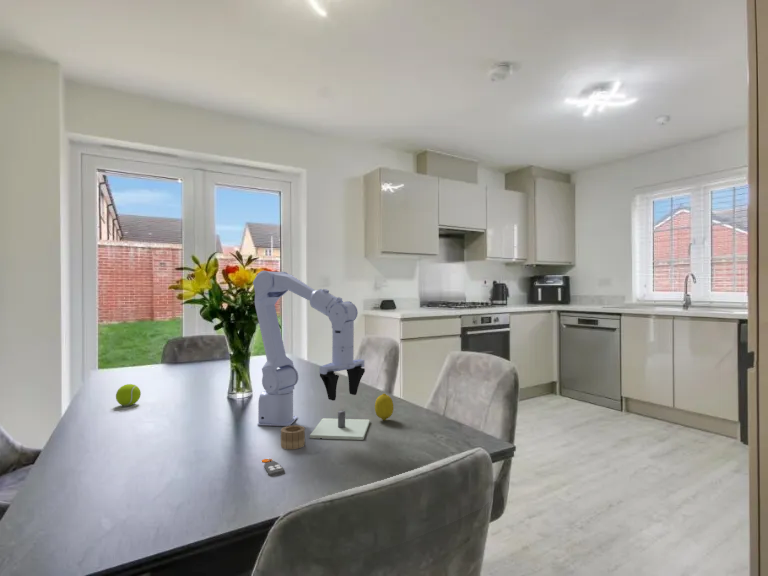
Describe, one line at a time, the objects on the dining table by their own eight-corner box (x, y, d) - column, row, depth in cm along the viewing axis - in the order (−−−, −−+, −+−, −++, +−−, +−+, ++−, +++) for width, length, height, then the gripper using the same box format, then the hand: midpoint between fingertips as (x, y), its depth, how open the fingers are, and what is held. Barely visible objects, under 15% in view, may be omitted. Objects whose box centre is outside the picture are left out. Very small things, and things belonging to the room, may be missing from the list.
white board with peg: (310, 438, 108) (310, 418, 108) (322, 420, 122) (322, 403, 122) (363, 439, 107) (363, 420, 107) (369, 422, 121) (369, 405, 121)
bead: (278, 449, 101) (278, 432, 101) (285, 440, 106) (285, 424, 106) (300, 449, 100) (300, 433, 100) (306, 441, 106) (306, 425, 106)
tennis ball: (144, 402, 142) (144, 382, 142) (133, 408, 135) (133, 386, 135) (123, 402, 141) (124, 382, 141) (111, 408, 134) (111, 387, 134)
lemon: (391, 424, 119) (391, 396, 119) (372, 422, 120) (372, 395, 120) (394, 418, 125) (395, 391, 125) (376, 417, 126) (377, 390, 126)
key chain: (287, 475, 88) (286, 468, 88) (269, 479, 86) (269, 472, 86) (269, 454, 99) (269, 447, 99) (253, 457, 97) (253, 451, 97)
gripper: (331, 351, 104) (331, 405, 104) (372, 345, 115) (372, 394, 115) (314, 348, 109) (314, 400, 109) (354, 342, 120) (354, 390, 120)
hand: (342, 396), depth 112 cm, fingers open, 7 cm apart
